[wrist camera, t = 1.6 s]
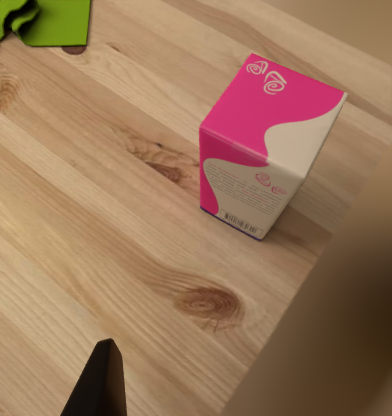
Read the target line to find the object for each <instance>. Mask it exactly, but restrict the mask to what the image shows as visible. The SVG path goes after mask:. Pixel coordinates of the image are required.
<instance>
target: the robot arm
mask: <svg viewBox="0 0 392 416" xmlns="http://www.w3.org/2000/svg"><path fill="white" fill-rule="evenodd" d="M60 416H127V408H126V396H125V384H124V372H123V361H122V355H121V353H120V351H119V349H118V347H117V345H116V344H115V342H114V340H113V339H111V338H109V339H105V340H102V341H99V342H98V343H97V344H96V346H95V348H94V350H93V352H92V354H91V356H90V358H89V360H88V361H87V363H86V365H85V367H84V369H83V371H82V373H81V375H80V377H79V379H78V381H77V383H76V385H75V387H74V389H73V391H72V393H71V395H70V397H69V399H68V401H67V403H66V405H65V407H64V409H63V411H62V413H61V415H60Z"/></svg>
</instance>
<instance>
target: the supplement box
mask: <svg viewBox="0 0 392 416" xmlns="http://www.w3.org/2000/svg"><path fill="white" fill-rule="evenodd" d="M347 96H348V93H346V92H343V91H341V90H338V89H336V88H334V87H331V86H329V85H327V84H324V83H322V82H319V81H317V80H315V79H312V78H310V77H307V76H305V75H303V74H300V73H298V72H295V71H293V70H291V69H288V68H286V67H284V66H281V65H279V64H276V63H274V62H272V61H269V60H267V59H265V58H262V57H260V56H258V55H255V54H253V53H251V54H250V56H249V57H248V58H247V60H246V61H245V63H244V64H243V66H242V67H241V69H240V70H239V72H238V73H237V75H236V76H235V78H234V79H233V80H232V82H231V83H230V85H229V86H228V87H227V89H226V90H225V91H224V93H223V94H222V96H221V97H220V98H219V100H218V101H217V102H216V104H215V105H214V107H213V108H212V109H211V111H210V112H209V114H208V115H207V116H206V118H205V119H204V120H203V122H202V123H201V125H200V126H199V147H200V208H201V209H202V210H204V211H205V212H207V213H209V214H211V215H212V216H214V217H216V218H218V219H219V220H221V221H223V222H225V223H227V224H228V225H230V226H232V227H234V228H236V229H237V230H239V231H241V232H243V233H245V234H247V235H249V236H250V237H252V238H254V239H256V240H258V241H261V240H262V239H263V238H264V236H265V235H266V234H267V232H268V231H269V230H270V228H271V227H272V225H273V224H274V223H275V221H276V220H277V218H278V217H279V216H280V214H281V213H282V211H283V210H284V209H285V207H286V206H287V204H288V203H289V202H290V200H291V199H292V197H293V196H294V195H295V193H296V192H297V191H298V189H299V188H300V187H301V185H302V184H303V182H304V181H305V179H306V178H307V176H308V174H309V172H310V171H311V169H312V167H313V165H314V163H315V161H316V159H317V157H318V155H319V153H320V151H321V149H322V147H323V145H324V143H325V141H326V139H327V137H328V135H329V133H330V131H331V129H332V127H333V125H334V123H335V121H336V119H337V117H338V114H339V112H340V110H341V108H342V106H343V104H344V102H345V100H346V99H347Z"/></svg>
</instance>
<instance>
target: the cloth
mask: <svg viewBox="0 0 392 416" xmlns="http://www.w3.org/2000/svg"><path fill="white" fill-rule="evenodd" d="M90 1H91V0H0V40H1V39H2V38H3V36H4V35H5V33H4V27H3V24H4V21H6V23H7V24H8V27H10V28H12V30H13V33H16V35H17V36H18V38H19V39H20V40H21V41H22V42H23V43H24V44H26V45H30V46H77V45H86V41H87V34H88V23H89V14H90Z"/></svg>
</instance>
